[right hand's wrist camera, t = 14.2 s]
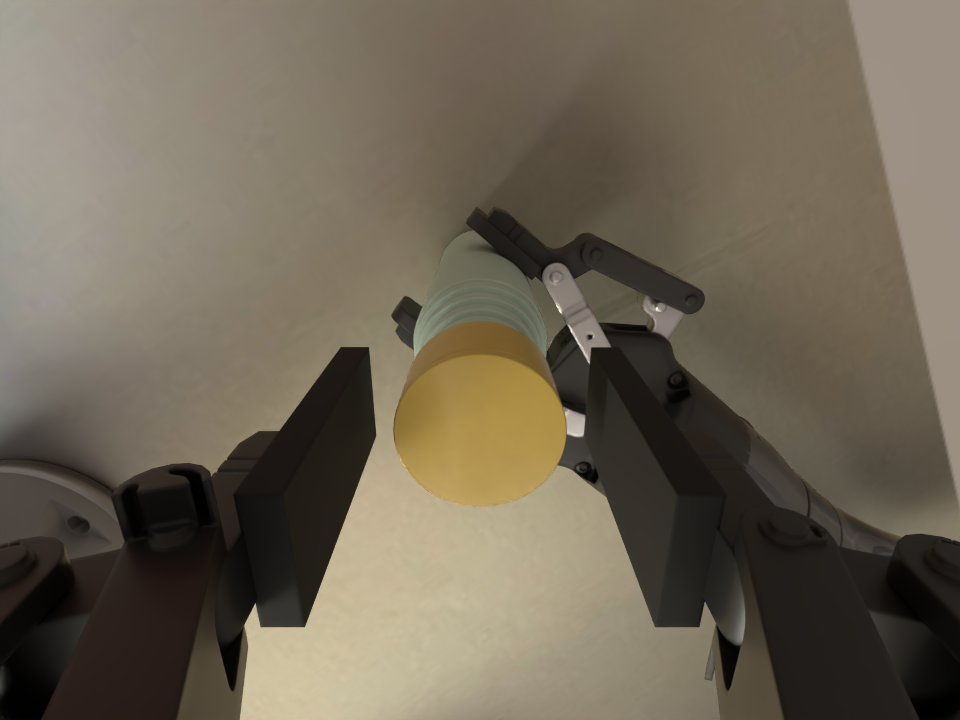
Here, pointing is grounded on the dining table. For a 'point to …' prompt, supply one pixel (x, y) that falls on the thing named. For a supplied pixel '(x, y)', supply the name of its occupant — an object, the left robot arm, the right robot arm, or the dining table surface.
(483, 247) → the bottle
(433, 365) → the cap
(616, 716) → the dining table surface
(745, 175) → the dining table surface
